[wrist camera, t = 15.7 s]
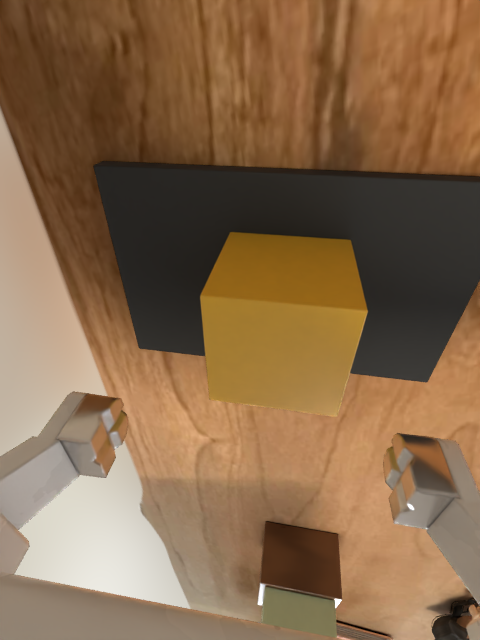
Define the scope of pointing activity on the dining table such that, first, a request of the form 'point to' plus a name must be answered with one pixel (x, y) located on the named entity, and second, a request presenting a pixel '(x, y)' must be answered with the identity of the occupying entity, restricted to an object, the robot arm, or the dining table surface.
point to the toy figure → (455, 622)
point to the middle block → (299, 612)
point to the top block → (282, 322)
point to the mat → (304, 221)
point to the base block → (300, 562)
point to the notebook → (357, 633)
